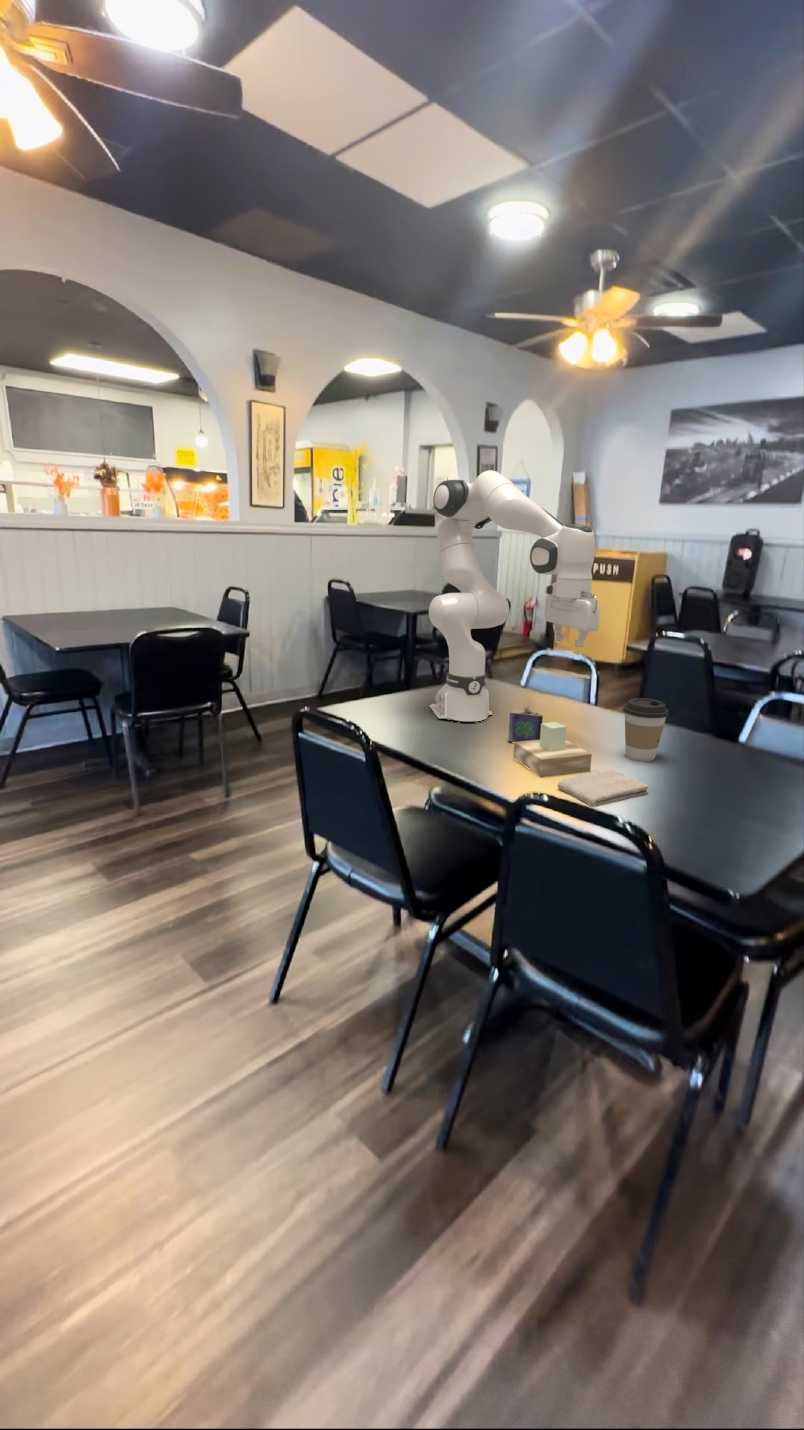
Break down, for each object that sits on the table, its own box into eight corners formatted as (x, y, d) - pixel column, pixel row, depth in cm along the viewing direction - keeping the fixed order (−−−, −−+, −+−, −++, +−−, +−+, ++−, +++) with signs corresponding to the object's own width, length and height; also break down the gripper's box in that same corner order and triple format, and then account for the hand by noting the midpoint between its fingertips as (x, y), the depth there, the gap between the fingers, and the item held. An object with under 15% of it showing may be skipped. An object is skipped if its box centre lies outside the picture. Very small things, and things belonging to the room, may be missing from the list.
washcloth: (651, 795, 154) (652, 782, 153) (593, 810, 145) (594, 796, 144) (612, 778, 164) (613, 766, 163) (556, 791, 155) (557, 778, 154)
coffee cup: (666, 766, 171) (673, 709, 167) (620, 762, 173) (626, 706, 169) (659, 751, 181) (665, 698, 177) (615, 748, 184) (621, 695, 179)
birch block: (513, 760, 175) (514, 742, 174) (559, 755, 179) (561, 737, 178) (540, 779, 162) (541, 759, 161) (589, 773, 167) (591, 754, 165)
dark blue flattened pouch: (507, 742, 187) (509, 705, 184) (509, 740, 190) (512, 703, 187) (539, 747, 184) (542, 710, 181) (542, 744, 186) (545, 707, 183)
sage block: (539, 746, 171) (541, 723, 169) (554, 744, 172) (556, 721, 171) (549, 751, 167) (551, 728, 165) (564, 749, 168) (566, 726, 167)
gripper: (608, 594, 162) (603, 650, 166) (562, 586, 181) (558, 637, 185) (586, 594, 160) (581, 651, 164) (541, 586, 179) (538, 638, 183)
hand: (568, 643), depth 174 cm, fingers open, 8 cm apart
